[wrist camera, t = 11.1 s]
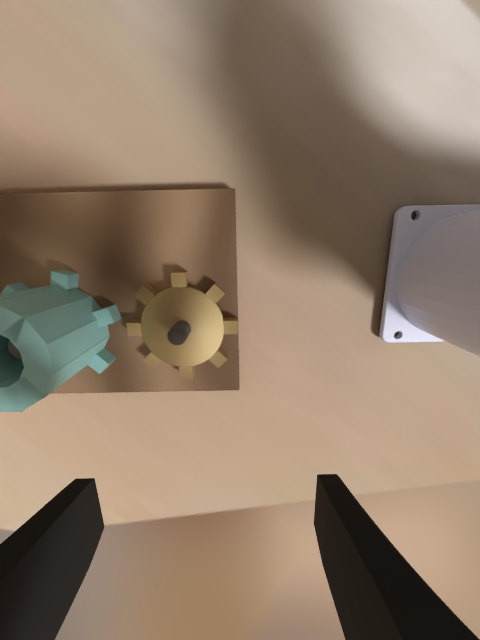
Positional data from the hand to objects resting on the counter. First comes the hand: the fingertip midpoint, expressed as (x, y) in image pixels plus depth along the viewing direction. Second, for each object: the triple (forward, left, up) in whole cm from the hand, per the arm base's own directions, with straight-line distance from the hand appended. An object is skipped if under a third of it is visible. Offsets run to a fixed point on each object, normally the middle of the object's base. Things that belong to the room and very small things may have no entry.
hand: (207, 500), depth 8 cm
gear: (+9, -4, -9) cm, 13 cm away
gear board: (+6, -5, -9) cm, 12 cm away
